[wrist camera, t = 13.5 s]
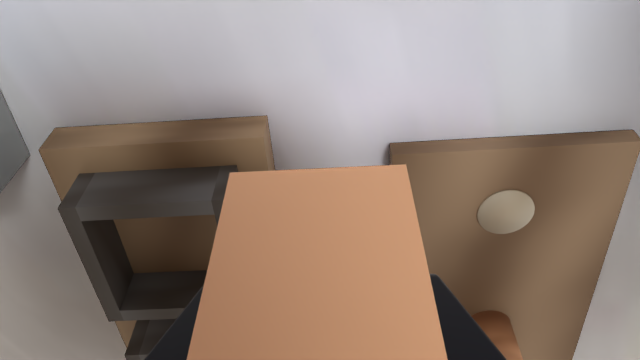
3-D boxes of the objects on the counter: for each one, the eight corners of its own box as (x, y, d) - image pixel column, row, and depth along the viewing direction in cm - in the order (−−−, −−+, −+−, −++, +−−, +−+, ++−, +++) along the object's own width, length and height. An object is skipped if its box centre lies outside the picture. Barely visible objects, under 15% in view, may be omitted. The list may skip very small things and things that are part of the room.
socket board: (267, 115, 20) (257, 170, 18) (304, 374, 30) (302, 437, 27) (55, 127, 21) (12, 184, 18) (158, 379, 30) (141, 442, 27)
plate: (632, 129, 21) (686, 192, 18) (565, 347, 28) (594, 417, 25) (389, 143, 21) (400, 206, 18) (389, 354, 29) (396, 423, 26)
